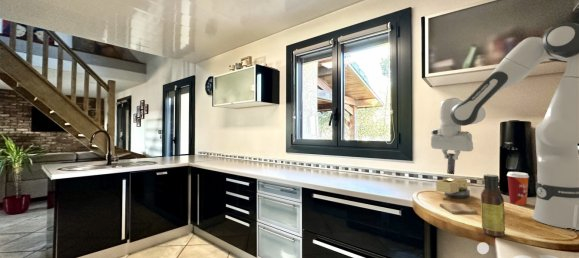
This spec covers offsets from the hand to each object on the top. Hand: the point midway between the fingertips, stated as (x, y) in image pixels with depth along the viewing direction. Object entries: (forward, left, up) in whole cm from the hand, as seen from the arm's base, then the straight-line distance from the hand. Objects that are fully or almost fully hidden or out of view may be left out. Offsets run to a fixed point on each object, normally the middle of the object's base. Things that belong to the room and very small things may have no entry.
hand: (451, 159), depth 125 cm
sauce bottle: (+8, +40, -20) cm, 46 cm away
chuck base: (-6, -6, -20) cm, 21 cm away
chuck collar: (-3, -4, -16) cm, 17 cm away
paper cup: (-25, +8, -20) cm, 33 cm away
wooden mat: (+6, +16, -20) cm, 26 cm away
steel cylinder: (0, 0, -7) cm, 7 cm away
